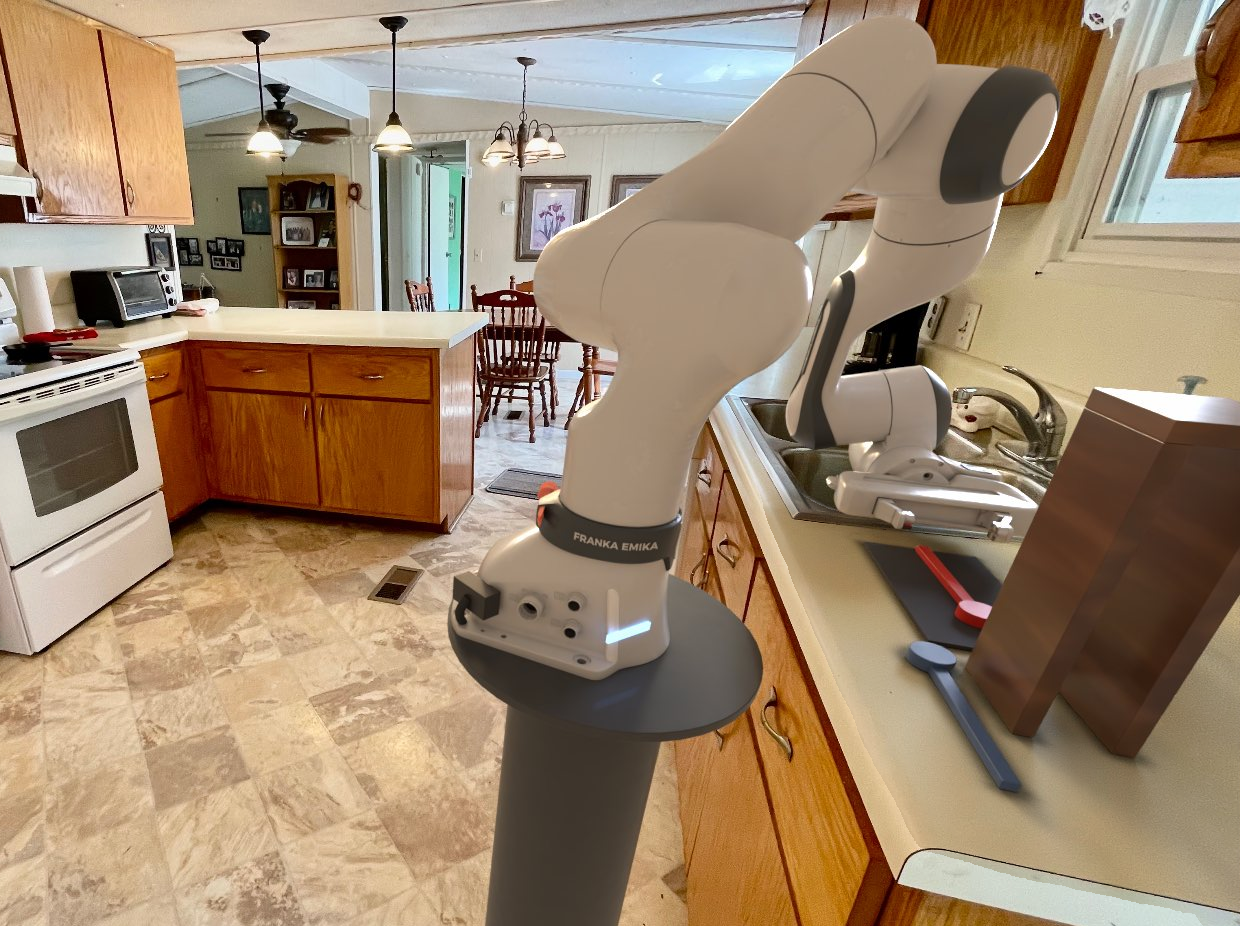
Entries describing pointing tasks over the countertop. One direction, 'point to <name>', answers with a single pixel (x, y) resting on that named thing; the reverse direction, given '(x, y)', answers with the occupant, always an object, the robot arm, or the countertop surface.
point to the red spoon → (956, 591)
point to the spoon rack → (1120, 568)
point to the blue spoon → (962, 709)
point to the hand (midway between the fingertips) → (954, 530)
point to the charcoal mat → (935, 591)
